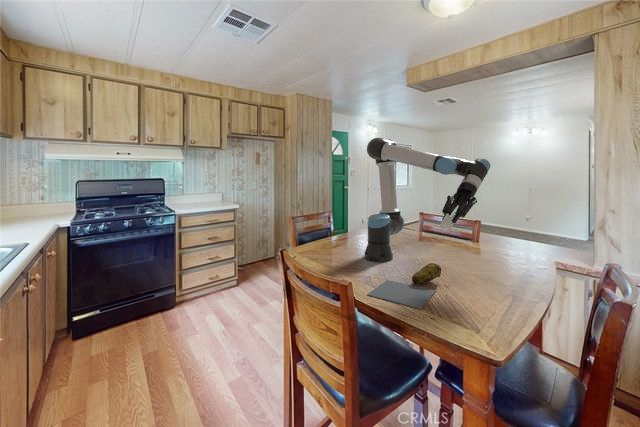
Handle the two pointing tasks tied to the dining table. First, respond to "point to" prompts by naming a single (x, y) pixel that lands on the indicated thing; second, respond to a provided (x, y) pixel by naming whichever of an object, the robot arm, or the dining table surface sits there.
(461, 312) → the dining table surface
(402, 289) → the mat
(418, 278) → the potato
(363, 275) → the dining table surface
